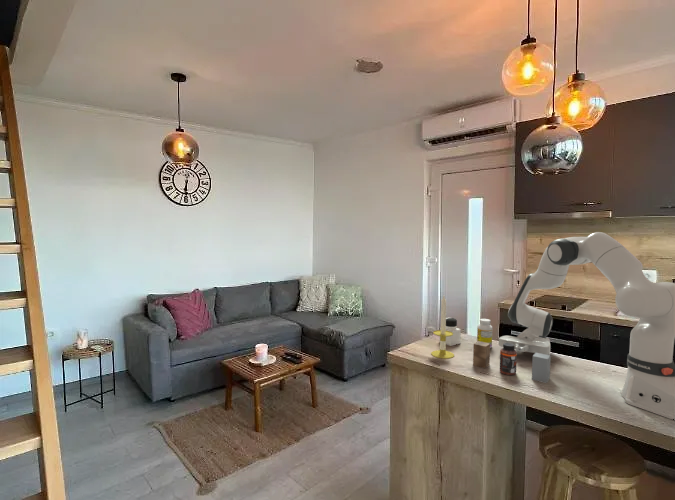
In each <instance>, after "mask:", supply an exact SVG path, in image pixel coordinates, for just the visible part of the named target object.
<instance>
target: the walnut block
mask: <svg viewBox="0 0 675 500" xmlns="http://www.w3.org/2000/svg"><path fill="white" fill-rule="evenodd" d="M472 357H473V358H472V359H473V360H472V366H474V367H477V368H482V369H487V368H488V367H490V364H491V363H490V360H491V348H490V343H485V342H480V341H477V340H476V342H474V343H473V353H472Z"/></svg>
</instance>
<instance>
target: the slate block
mask: <svg viewBox="0 0 675 500" xmlns="http://www.w3.org/2000/svg"><path fill="white" fill-rule="evenodd" d="M551 356H552V355H551V354H550V355H546V354H541V353H533V355H532V362H531V363H532V364H531V366H532V367H531V368H532V369H531V380H533V381H535V382H540V383H541V382H542V383H545V384H547V383H548V382H549V381H550V380H551V379H550V377H551V376H550V374H551V358H552V357H551Z"/></svg>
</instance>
